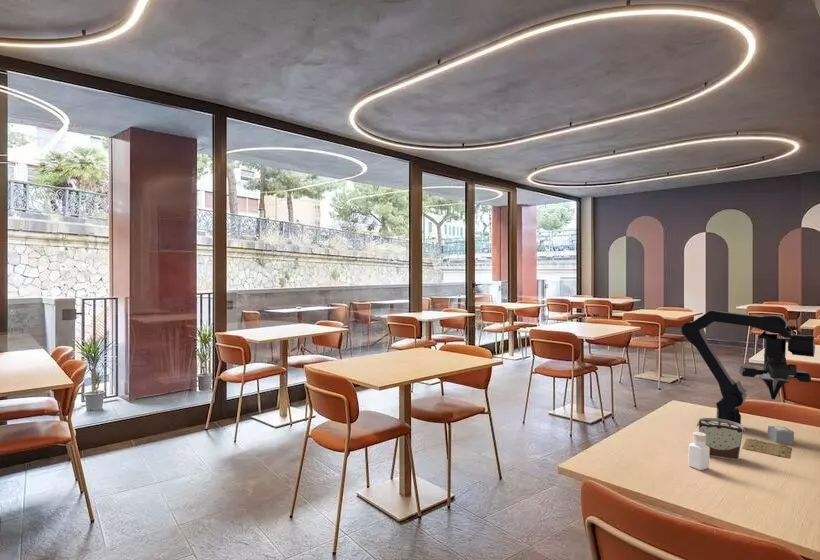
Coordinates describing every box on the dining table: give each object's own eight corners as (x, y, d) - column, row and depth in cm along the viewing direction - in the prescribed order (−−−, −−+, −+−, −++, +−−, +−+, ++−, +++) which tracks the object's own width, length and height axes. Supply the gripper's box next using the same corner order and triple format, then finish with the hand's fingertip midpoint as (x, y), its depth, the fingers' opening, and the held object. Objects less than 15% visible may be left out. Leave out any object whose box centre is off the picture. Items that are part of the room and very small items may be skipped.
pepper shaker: (700, 471, 137) (702, 436, 137) (687, 465, 141) (688, 432, 140) (709, 468, 139) (711, 434, 138) (695, 463, 142) (697, 430, 142)
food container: (740, 454, 150) (741, 420, 150) (744, 461, 145) (745, 427, 144) (693, 447, 155) (694, 415, 155) (695, 453, 150) (696, 420, 149)
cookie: (745, 439, 164) (745, 436, 164) (792, 449, 156) (792, 446, 156) (740, 449, 155) (740, 446, 155) (790, 460, 147) (790, 457, 147)
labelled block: (776, 443, 160) (776, 430, 160) (767, 437, 165) (768, 425, 165) (793, 444, 159) (794, 431, 159) (784, 438, 164) (784, 426, 164)
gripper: (746, 354, 163) (744, 401, 164) (817, 359, 156) (815, 409, 156) (739, 349, 173) (738, 393, 174) (806, 353, 166) (804, 400, 167)
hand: (772, 399), depth 167 cm, fingers closed
